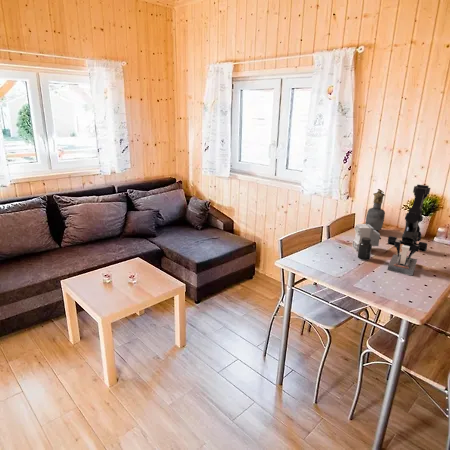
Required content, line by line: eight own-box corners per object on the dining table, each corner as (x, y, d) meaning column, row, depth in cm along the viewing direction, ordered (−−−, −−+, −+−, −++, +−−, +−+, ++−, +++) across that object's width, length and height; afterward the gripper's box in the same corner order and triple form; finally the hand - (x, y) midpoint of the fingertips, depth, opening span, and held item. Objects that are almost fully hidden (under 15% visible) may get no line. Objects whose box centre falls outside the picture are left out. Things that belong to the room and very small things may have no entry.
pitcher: (362, 233, 239) (369, 190, 229) (367, 225, 254) (373, 185, 245) (379, 236, 234) (387, 193, 224) (383, 228, 249) (390, 187, 240)
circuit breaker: (380, 251, 208) (384, 228, 203) (356, 251, 208) (359, 227, 204) (375, 247, 215) (379, 224, 210) (352, 246, 215) (355, 223, 211)
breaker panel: (392, 259, 198) (394, 251, 197) (416, 264, 192) (417, 256, 191) (387, 269, 185) (388, 261, 183) (412, 275, 179) (414, 267, 177)
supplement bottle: (369, 256, 201) (372, 237, 197) (370, 261, 195) (373, 241, 191) (357, 255, 203) (360, 235, 199) (357, 259, 197) (360, 239, 193)
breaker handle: (399, 261, 188) (402, 244, 184) (406, 263, 186) (409, 246, 183) (398, 263, 185) (401, 246, 182) (405, 264, 183) (409, 248, 180)
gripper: (391, 221, 187) (384, 247, 182) (430, 228, 177) (424, 255, 172) (391, 231, 196) (384, 255, 190) (429, 238, 186) (422, 264, 181)
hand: (403, 257), depth 183 cm, fingers open, 5 cm apart
